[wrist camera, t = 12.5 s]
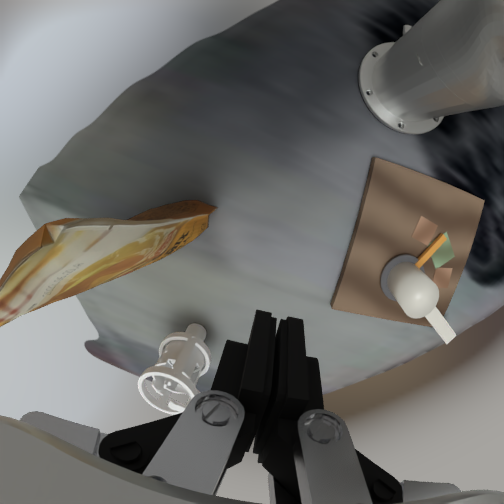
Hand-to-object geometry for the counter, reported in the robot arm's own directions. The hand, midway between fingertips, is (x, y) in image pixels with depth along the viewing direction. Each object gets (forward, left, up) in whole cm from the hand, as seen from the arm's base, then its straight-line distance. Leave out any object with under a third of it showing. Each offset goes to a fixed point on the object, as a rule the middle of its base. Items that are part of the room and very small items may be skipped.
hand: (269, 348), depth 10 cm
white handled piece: (+4, +23, -25) cm, 34 cm away
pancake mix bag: (+5, -15, -27) cm, 32 cm away
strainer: (+20, -8, -27) cm, 35 cm away
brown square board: (0, +19, -27) cm, 33 cm away
